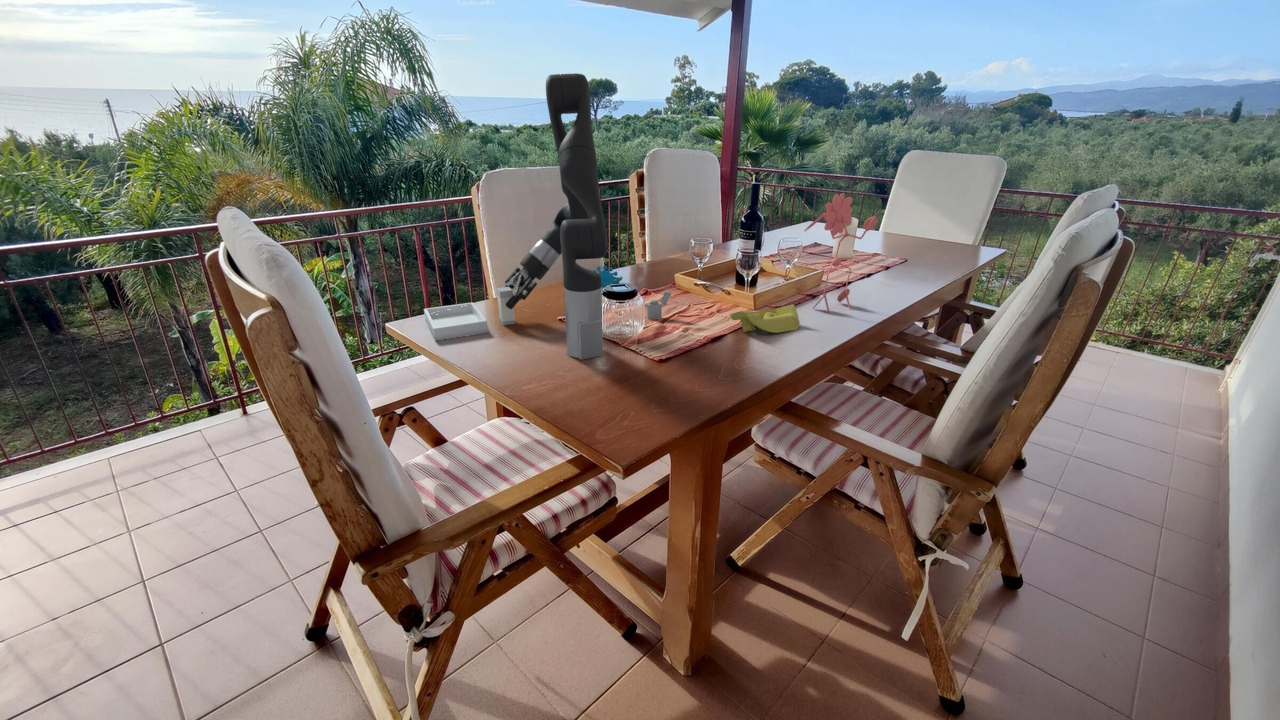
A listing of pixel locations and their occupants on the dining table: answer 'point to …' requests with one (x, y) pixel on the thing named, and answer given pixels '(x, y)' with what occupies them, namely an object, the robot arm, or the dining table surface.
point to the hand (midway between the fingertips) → (504, 303)
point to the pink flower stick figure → (836, 222)
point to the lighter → (657, 306)
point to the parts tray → (455, 321)
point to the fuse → (504, 312)
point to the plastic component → (769, 319)
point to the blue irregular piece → (608, 276)
